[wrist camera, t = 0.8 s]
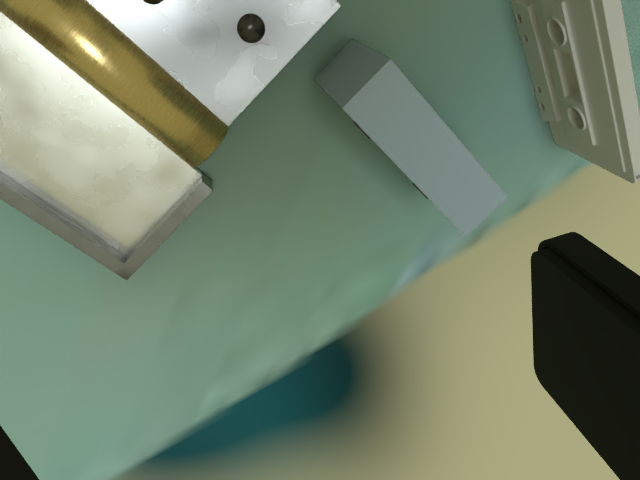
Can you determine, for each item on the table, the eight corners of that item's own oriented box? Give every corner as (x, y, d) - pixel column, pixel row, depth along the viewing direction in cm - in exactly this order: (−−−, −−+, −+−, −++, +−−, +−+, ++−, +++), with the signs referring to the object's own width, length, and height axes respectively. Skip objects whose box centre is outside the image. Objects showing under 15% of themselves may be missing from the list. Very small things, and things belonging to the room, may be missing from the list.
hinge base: (356, 29, 30) (371, 35, 27) (129, 266, 33) (124, 292, 31) (71, -303, 22) (54, -338, 19) (-185, 58, 25) (-229, 70, 23)
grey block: (351, 38, 30) (390, 58, 24) (453, 155, 35) (508, 197, 28) (312, 79, 31) (341, 109, 24) (417, 189, 35) (464, 237, 29)
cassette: (572, 133, 36) (659, 174, 29) (546, 147, 36) (627, 191, 29) (527, -53, 30) (623, -57, 23) (497, -36, 30) (584, -35, 23)
